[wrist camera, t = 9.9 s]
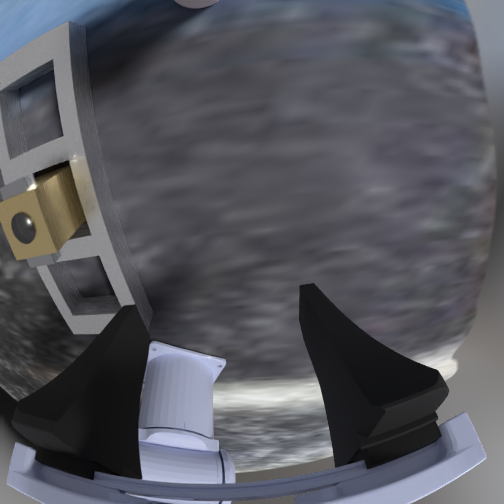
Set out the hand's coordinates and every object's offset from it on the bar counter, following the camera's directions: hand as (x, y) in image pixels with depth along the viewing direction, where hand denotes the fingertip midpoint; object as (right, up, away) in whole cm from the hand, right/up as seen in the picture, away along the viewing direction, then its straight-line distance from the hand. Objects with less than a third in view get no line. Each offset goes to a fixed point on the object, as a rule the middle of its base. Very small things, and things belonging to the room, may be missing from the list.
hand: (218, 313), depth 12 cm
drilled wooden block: (-12, +7, +6) cm, 15 cm away
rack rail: (-13, +7, +6) cm, 15 cm away
